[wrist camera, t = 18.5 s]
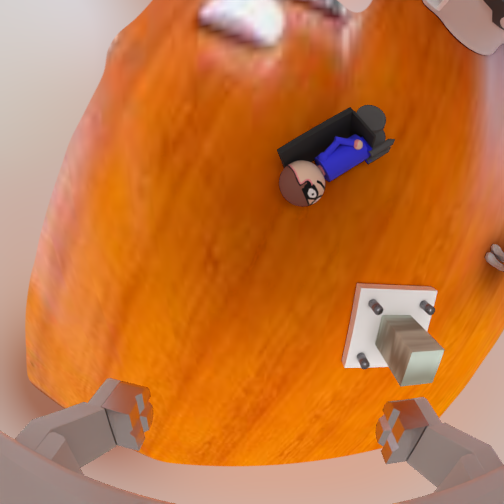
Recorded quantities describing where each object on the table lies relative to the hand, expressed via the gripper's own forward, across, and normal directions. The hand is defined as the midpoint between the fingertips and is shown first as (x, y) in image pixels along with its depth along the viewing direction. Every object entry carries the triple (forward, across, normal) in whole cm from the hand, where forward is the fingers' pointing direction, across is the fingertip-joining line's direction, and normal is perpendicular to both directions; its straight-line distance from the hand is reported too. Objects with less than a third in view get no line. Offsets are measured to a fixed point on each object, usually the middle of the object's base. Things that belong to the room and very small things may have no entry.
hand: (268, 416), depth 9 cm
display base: (+29, -18, +10) cm, 36 cm away
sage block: (+27, -18, +10) cm, 34 cm away
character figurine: (+29, -6, -12) cm, 32 cm away
